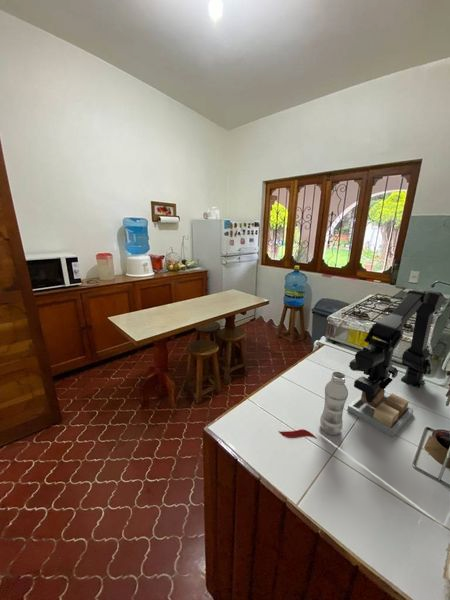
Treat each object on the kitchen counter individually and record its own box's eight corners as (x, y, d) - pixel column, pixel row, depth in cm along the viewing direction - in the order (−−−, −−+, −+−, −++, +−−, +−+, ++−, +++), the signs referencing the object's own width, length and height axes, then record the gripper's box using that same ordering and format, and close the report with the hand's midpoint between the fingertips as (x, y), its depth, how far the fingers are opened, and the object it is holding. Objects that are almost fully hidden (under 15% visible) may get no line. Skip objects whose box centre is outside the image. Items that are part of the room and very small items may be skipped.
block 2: (379, 414, 83) (381, 402, 82) (395, 424, 79) (399, 411, 78) (372, 421, 80) (374, 409, 79) (389, 431, 76) (392, 418, 75)
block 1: (382, 402, 86) (385, 390, 84) (375, 408, 83) (378, 396, 81) (367, 394, 89) (369, 383, 88) (360, 400, 87) (362, 388, 85)
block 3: (389, 404, 88) (392, 393, 86) (405, 413, 84) (408, 401, 82) (383, 411, 85) (385, 398, 83) (399, 419, 81) (403, 407, 79)
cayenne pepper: (318, 435, 76) (318, 430, 76) (317, 447, 72) (318, 442, 72) (278, 424, 81) (279, 419, 80) (276, 435, 76) (276, 430, 76)
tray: (369, 393, 94) (370, 387, 94) (412, 415, 84) (413, 409, 83) (347, 411, 85) (348, 405, 85) (392, 438, 75) (393, 432, 74)
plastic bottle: (340, 424, 80) (349, 370, 74) (342, 441, 74) (352, 384, 68) (318, 419, 82) (326, 366, 76) (319, 435, 76) (327, 379, 70)
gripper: (368, 341, 92) (361, 377, 97) (341, 357, 82) (335, 396, 87) (402, 354, 84) (393, 392, 88) (377, 373, 73) (368, 416, 78)
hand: (372, 398), depth 86 cm, fingers closed on block 1, 5 cm apart
